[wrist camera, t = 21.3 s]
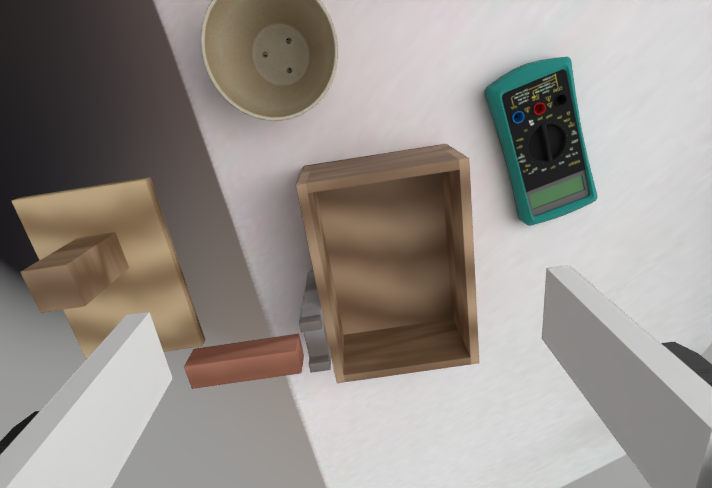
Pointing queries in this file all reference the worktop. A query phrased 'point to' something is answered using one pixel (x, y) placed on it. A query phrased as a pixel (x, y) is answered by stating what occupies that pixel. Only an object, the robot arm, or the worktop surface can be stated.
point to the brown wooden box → (389, 264)
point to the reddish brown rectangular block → (245, 361)
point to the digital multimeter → (542, 139)
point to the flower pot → (269, 54)
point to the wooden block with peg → (108, 262)
